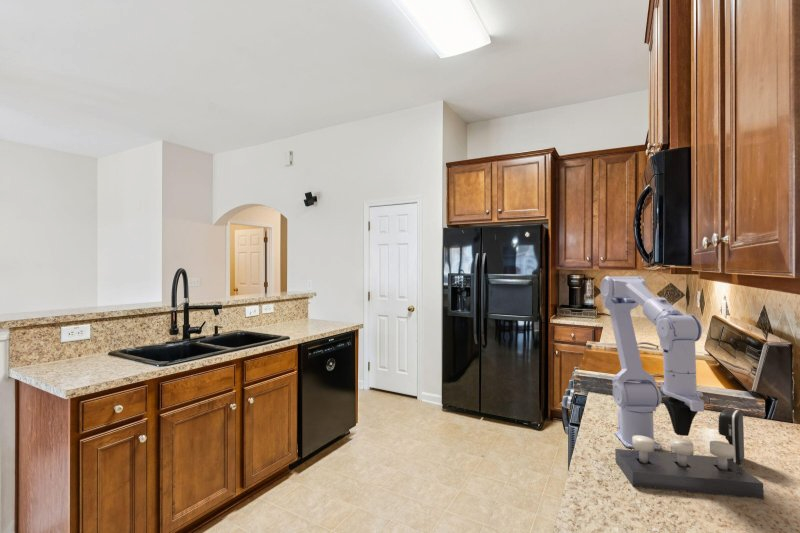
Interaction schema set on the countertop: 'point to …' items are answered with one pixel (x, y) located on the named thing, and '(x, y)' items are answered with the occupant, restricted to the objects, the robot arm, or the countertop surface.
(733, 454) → the knob
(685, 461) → the knob mid
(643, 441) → the knob
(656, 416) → the countertop surface
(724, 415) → the battery charger
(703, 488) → the mount plate
